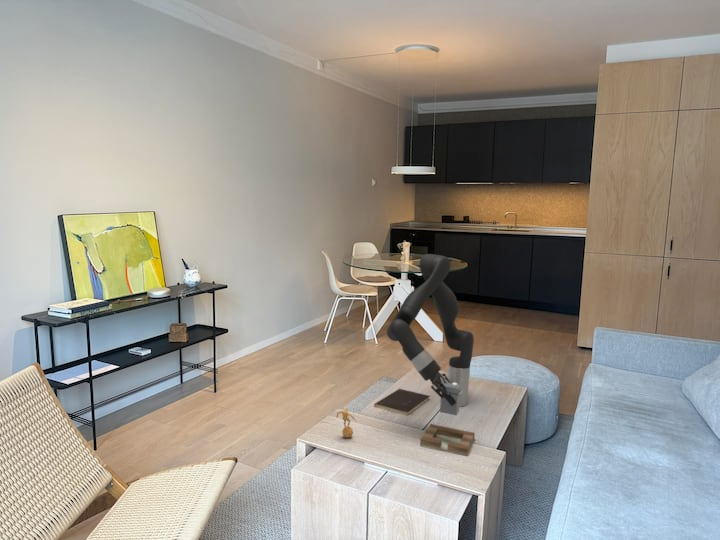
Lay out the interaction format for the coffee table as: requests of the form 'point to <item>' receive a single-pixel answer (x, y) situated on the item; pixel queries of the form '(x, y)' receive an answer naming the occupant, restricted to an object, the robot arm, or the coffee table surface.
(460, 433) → the walnut plate
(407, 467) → the coffee table surface
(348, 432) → the figurine
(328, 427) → the coffee table surface
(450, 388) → the block
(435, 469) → the coffee table surface
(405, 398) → the hardcover book
